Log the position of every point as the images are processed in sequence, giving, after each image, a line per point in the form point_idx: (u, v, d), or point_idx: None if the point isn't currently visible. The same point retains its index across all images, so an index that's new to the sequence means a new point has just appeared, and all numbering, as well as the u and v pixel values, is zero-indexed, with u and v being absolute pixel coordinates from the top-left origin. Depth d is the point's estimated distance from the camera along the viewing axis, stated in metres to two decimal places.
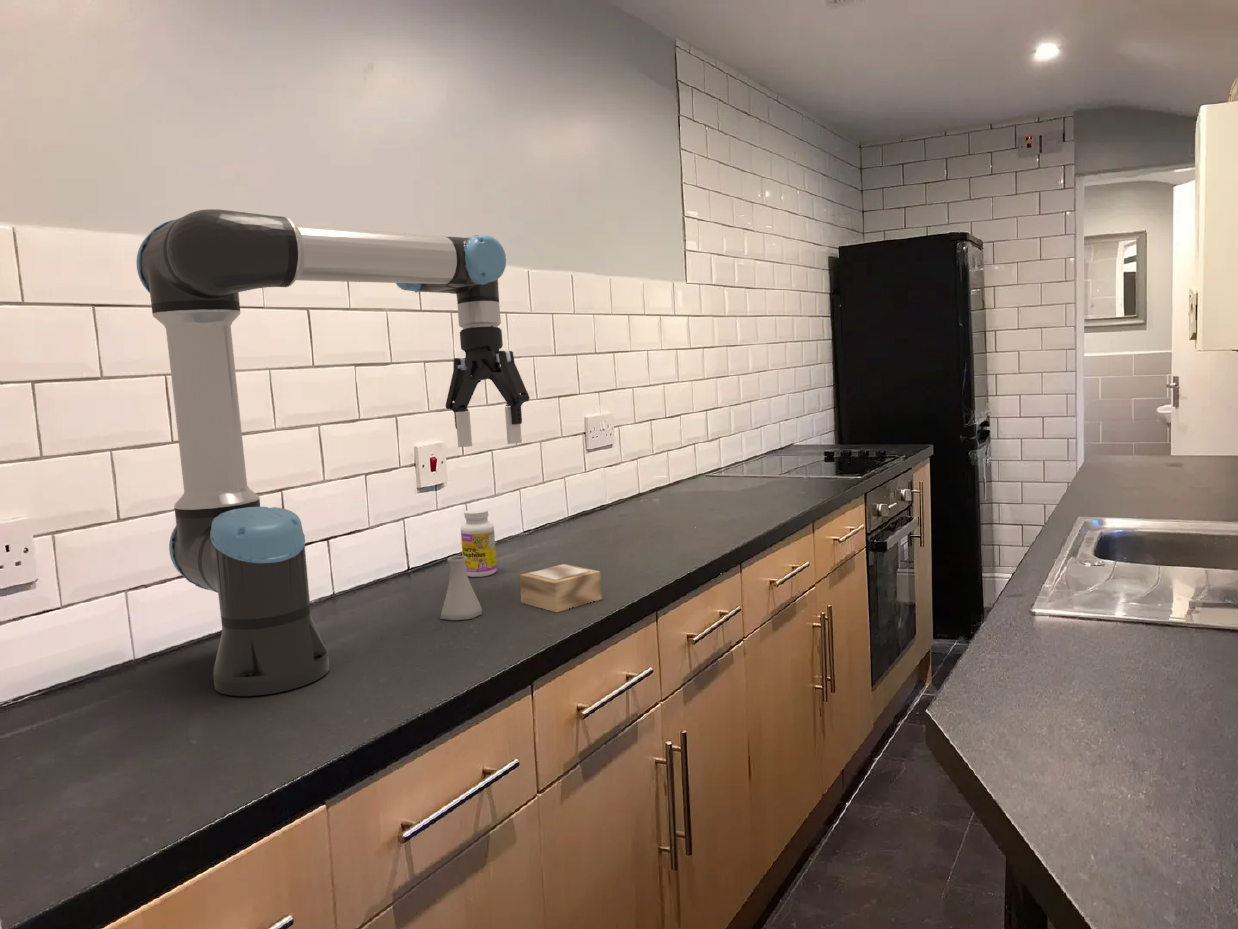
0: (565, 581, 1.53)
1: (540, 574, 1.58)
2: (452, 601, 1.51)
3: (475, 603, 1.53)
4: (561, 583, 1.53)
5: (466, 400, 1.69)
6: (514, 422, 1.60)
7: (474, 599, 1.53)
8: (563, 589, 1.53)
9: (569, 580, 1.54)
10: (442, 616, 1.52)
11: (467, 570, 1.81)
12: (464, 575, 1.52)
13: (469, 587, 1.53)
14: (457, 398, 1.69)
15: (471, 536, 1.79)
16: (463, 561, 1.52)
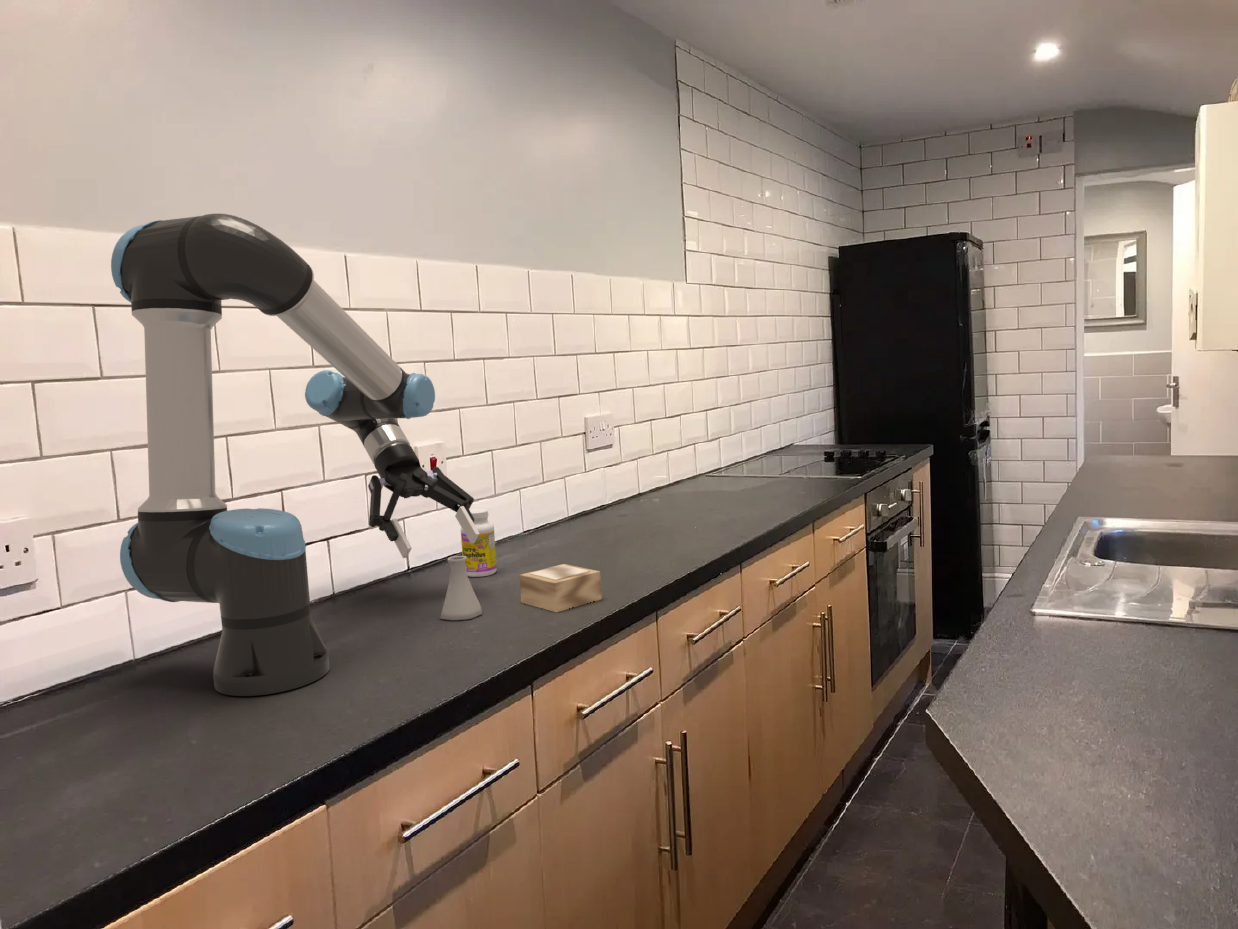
0: (565, 581, 1.53)
1: (540, 574, 1.58)
2: (452, 601, 1.51)
3: (475, 603, 1.53)
4: (561, 583, 1.53)
5: None
6: (472, 519, 1.65)
7: (474, 599, 1.53)
8: (563, 589, 1.53)
9: (569, 580, 1.54)
10: (442, 616, 1.52)
11: (467, 570, 1.81)
12: (464, 575, 1.52)
13: (469, 587, 1.53)
14: (389, 507, 1.57)
15: None
16: (463, 561, 1.52)
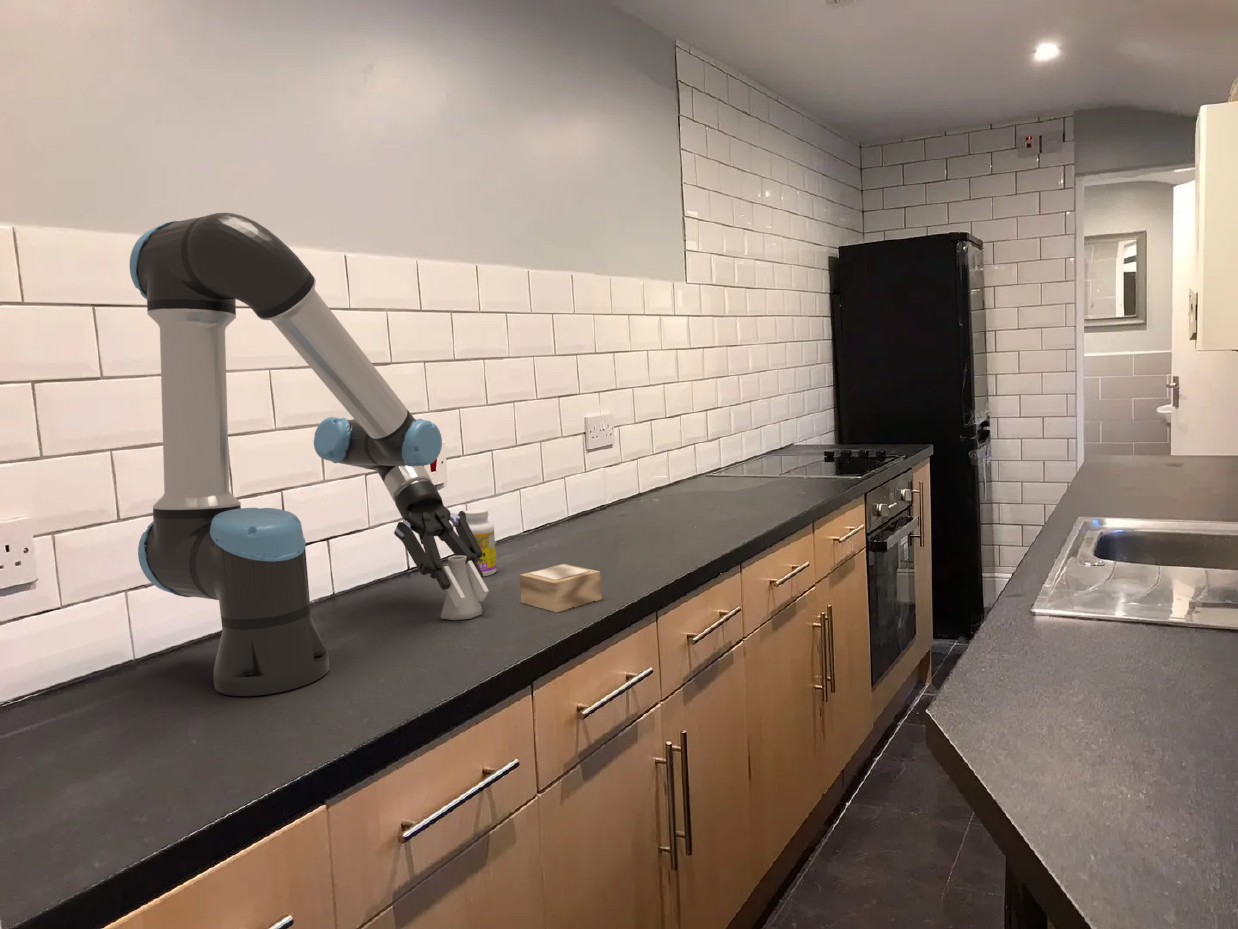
0: (565, 581, 1.53)
1: (540, 574, 1.58)
2: (452, 601, 1.51)
3: (475, 603, 1.53)
4: (561, 583, 1.53)
5: None
6: (481, 575, 1.54)
7: (474, 599, 1.53)
8: (563, 589, 1.53)
9: (569, 580, 1.54)
10: (442, 616, 1.52)
11: None
12: (464, 575, 1.52)
13: (469, 587, 1.53)
14: (434, 554, 1.52)
15: None
16: (463, 561, 1.52)
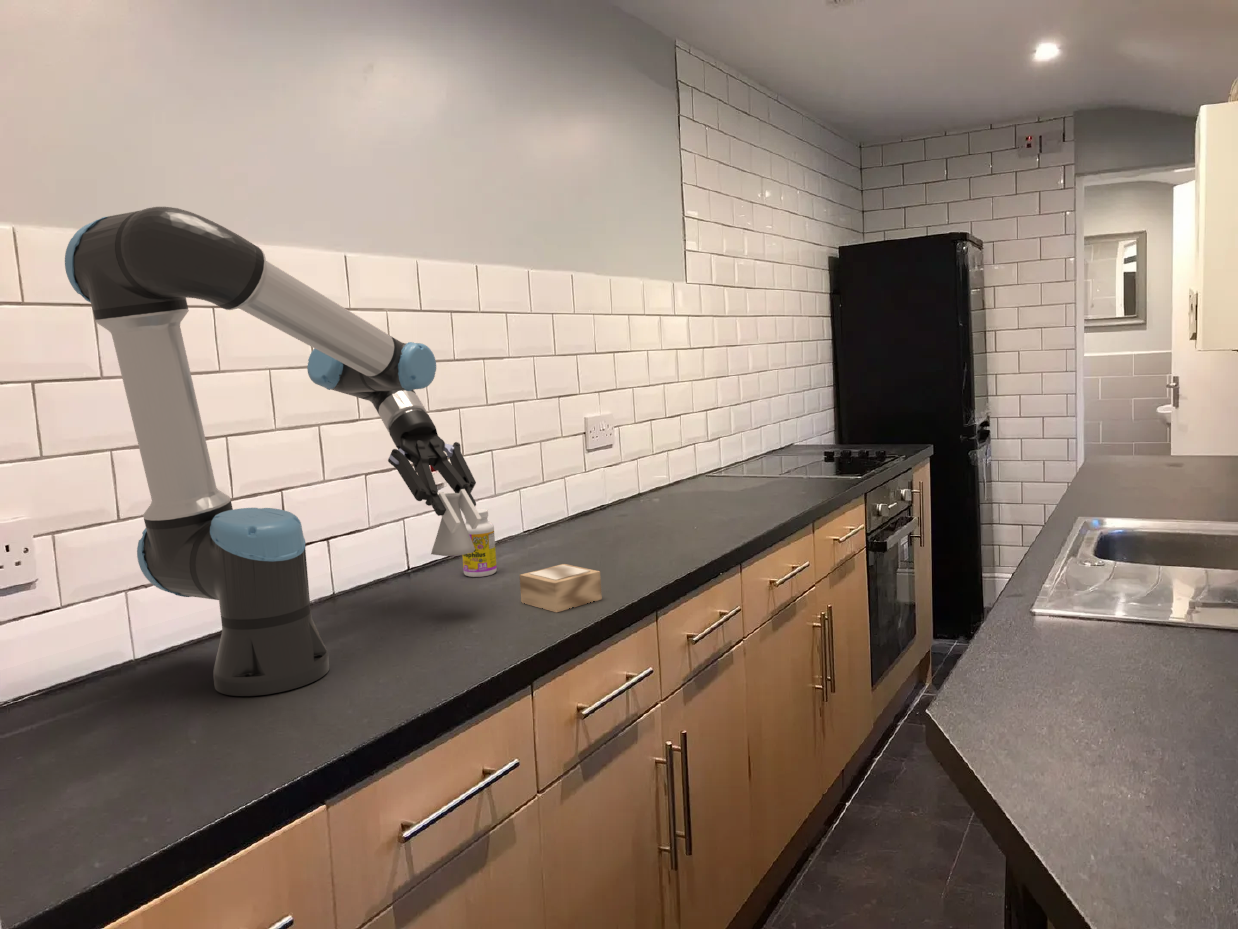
0: (565, 581, 1.53)
1: (540, 574, 1.58)
2: (443, 537, 1.50)
3: (467, 541, 1.51)
4: (561, 583, 1.53)
5: None
6: (474, 503, 1.52)
7: (466, 536, 1.51)
8: (563, 589, 1.53)
9: (569, 580, 1.54)
10: (433, 552, 1.51)
11: (467, 570, 1.81)
12: (457, 512, 1.51)
13: (461, 524, 1.51)
14: (429, 480, 1.51)
15: (470, 536, 1.79)
16: (456, 497, 1.51)
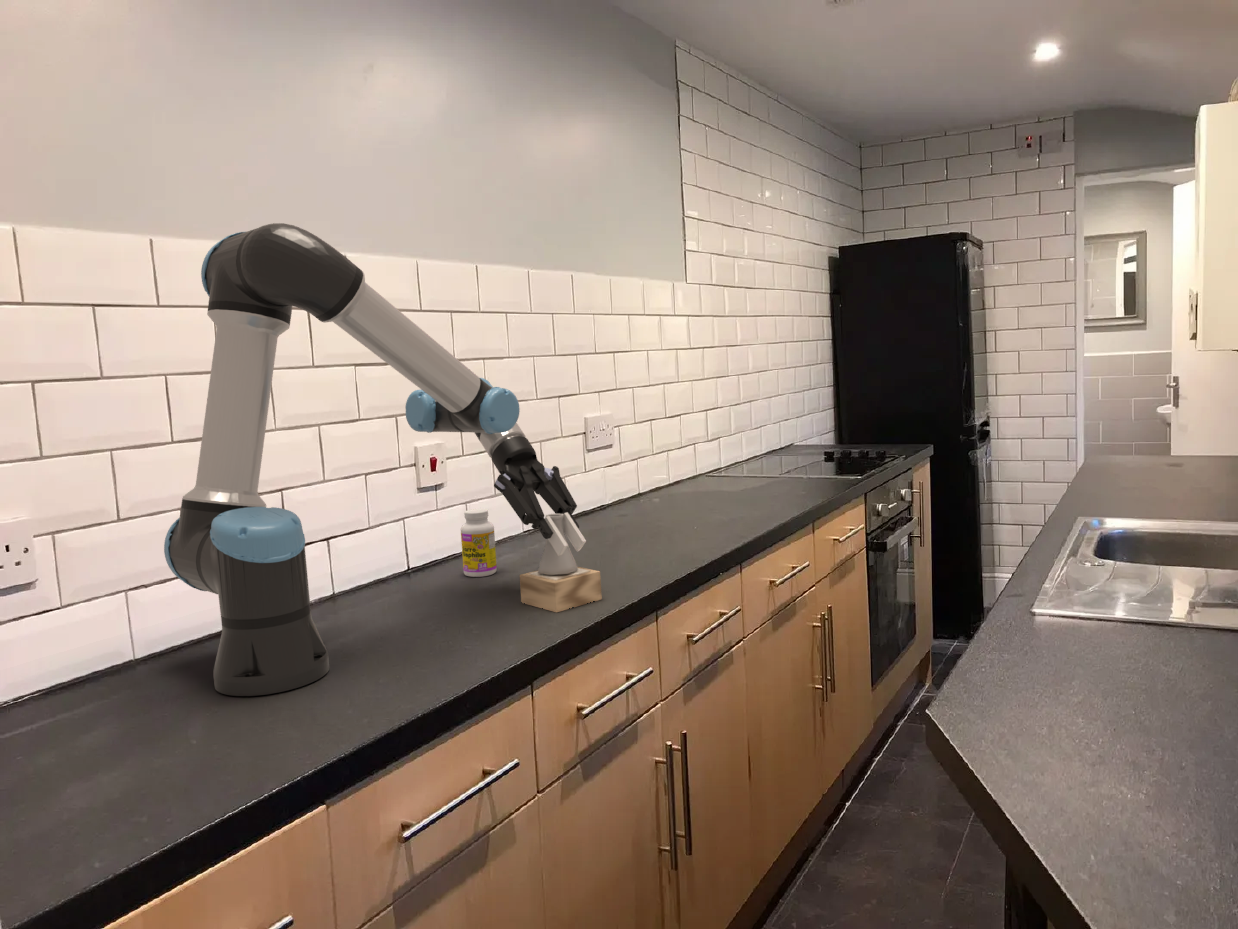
0: (565, 581, 1.53)
1: (540, 574, 1.58)
2: (549, 557, 1.56)
3: (571, 559, 1.57)
4: (561, 583, 1.53)
5: None
6: (577, 526, 1.58)
7: (570, 555, 1.58)
8: (563, 589, 1.53)
9: (569, 580, 1.54)
10: (539, 571, 1.57)
11: (467, 570, 1.81)
12: (561, 532, 1.57)
13: None
14: (535, 505, 1.57)
15: (471, 536, 1.79)
16: (560, 518, 1.57)
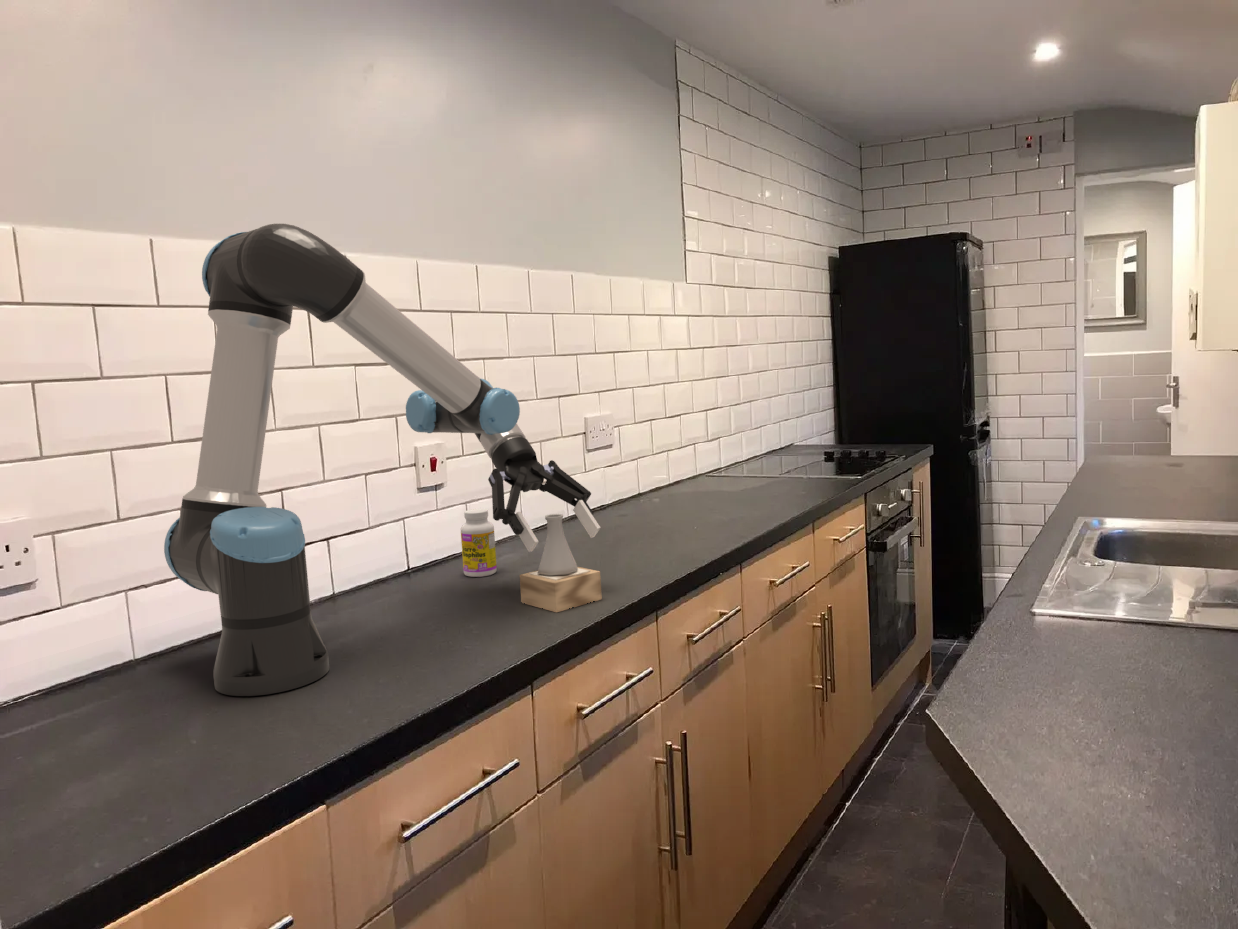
0: (565, 581, 1.53)
1: (540, 574, 1.58)
2: (549, 557, 1.56)
3: (571, 560, 1.57)
4: (561, 583, 1.53)
5: None
6: (591, 513, 1.63)
7: (570, 556, 1.58)
8: (563, 589, 1.53)
9: (569, 580, 1.54)
10: (539, 571, 1.57)
11: (467, 570, 1.81)
12: (561, 532, 1.57)
13: (565, 544, 1.57)
14: (512, 501, 1.55)
15: (470, 536, 1.79)
16: (560, 518, 1.57)
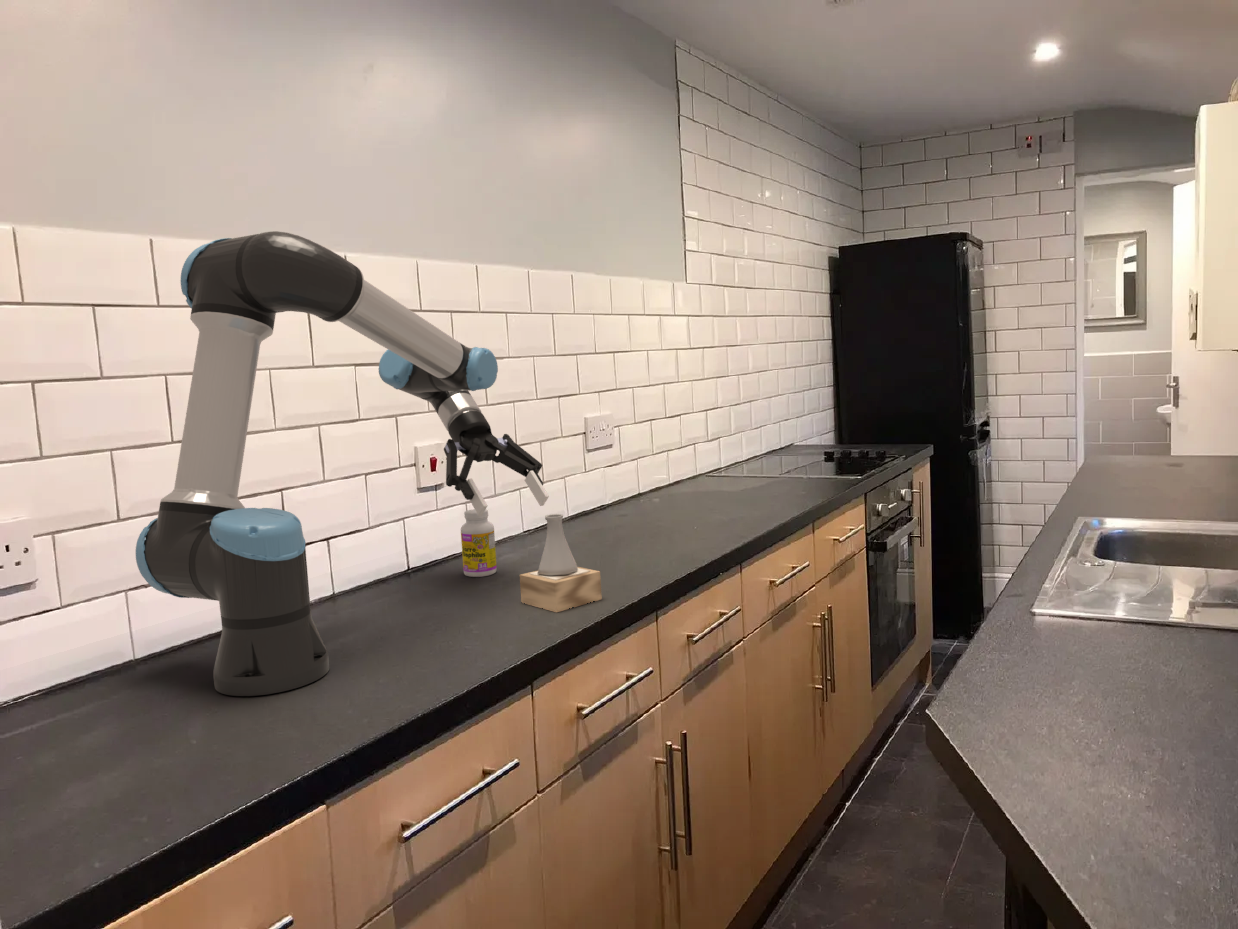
0: (565, 581, 1.53)
1: (540, 574, 1.58)
2: (549, 557, 1.56)
3: (571, 560, 1.57)
4: (561, 583, 1.53)
5: None
6: (541, 483, 1.72)
7: (570, 556, 1.58)
8: (563, 589, 1.53)
9: (569, 580, 1.54)
10: (539, 571, 1.57)
11: (467, 570, 1.81)
12: (561, 532, 1.57)
13: (565, 544, 1.57)
14: (465, 468, 1.65)
15: (471, 536, 1.79)
16: (560, 518, 1.57)
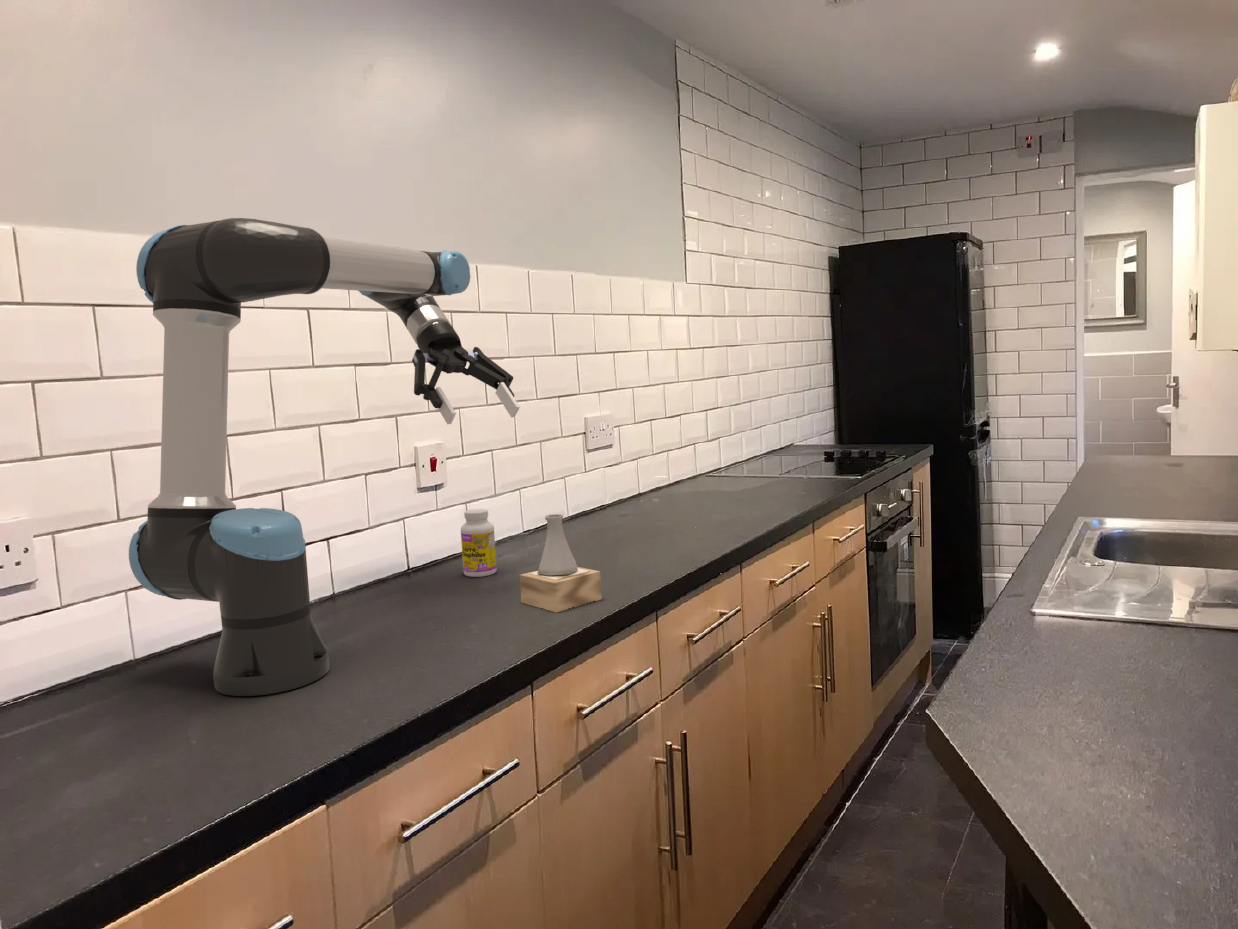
0: (565, 581, 1.53)
1: (540, 574, 1.58)
2: (549, 557, 1.56)
3: (571, 560, 1.57)
4: (561, 583, 1.53)
5: None
6: (512, 395, 1.69)
7: (570, 556, 1.58)
8: (563, 589, 1.53)
9: (569, 580, 1.54)
10: (539, 571, 1.57)
11: (467, 570, 1.81)
12: (561, 532, 1.57)
13: (565, 544, 1.57)
14: (433, 377, 1.62)
15: (470, 536, 1.79)
16: (560, 518, 1.57)
